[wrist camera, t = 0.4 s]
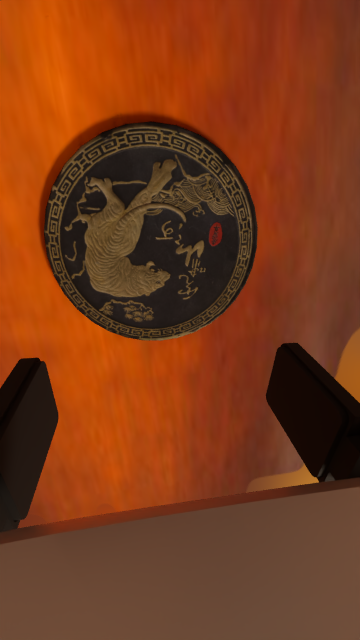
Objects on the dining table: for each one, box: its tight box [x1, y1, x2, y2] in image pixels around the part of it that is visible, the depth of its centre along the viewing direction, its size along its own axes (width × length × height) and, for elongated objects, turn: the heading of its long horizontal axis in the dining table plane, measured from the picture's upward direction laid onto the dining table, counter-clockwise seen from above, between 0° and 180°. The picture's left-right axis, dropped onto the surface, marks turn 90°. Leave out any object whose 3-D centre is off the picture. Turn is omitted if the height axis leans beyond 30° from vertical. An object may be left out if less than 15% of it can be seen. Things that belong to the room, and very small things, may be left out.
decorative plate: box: [44, 122, 257, 340], centre depth 37 cm, size 30×2×30 cm
